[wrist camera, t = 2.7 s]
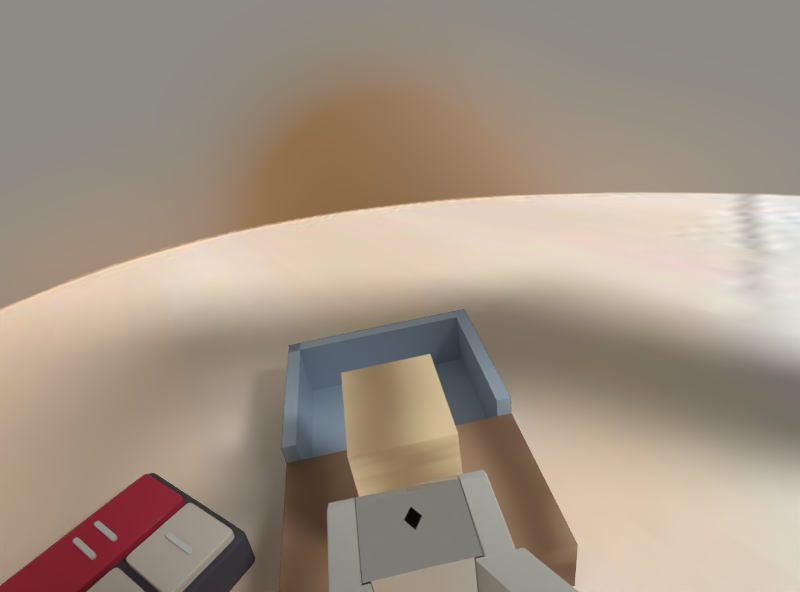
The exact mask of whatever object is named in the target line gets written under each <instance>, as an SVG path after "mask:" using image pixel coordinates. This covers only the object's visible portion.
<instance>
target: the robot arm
mask: <svg viewBox="0 0 800 592" xmlns="http://www.w3.org/2000/svg"><path fill="white" fill-rule="evenodd" d="M327 533H328V573H329V592H578V591H577V590H576V589H574V588H573V587H572V586H571V585H570V584H568V583H567V582H566V581H565V580H563V579H562V578H561V577H560V576H558V575H557V574H556V573H555V572H553V571H552V570H551V569H550V568H549V567H547V566H546V565H545V564H544V563H542V562H541V561H540V560H539V559H537V558H536V557H535V556H534V555H533V554H531V553H530V552H529V551H528V550H526V549H525V548H519V549H516V548H515V546H514V543H513V541H512V538H511V535H510V533H509V530H508V528H507V525H506V523H505V520H504V517H503V515H502V512H501V510H500V507H499V505H498V502H497V499H496V497H495V494H494V492H493V489H492V487H491V484H490V481H489V479H488V476H487V474H486V473H485V472H484V470H478V471H473V472H469V473H465V474H460V475H458V476H457V475H453V476H448V477H444V478H440V479H436V480H431V481H427V482H423V483H419V484H415V485H410V486H407V488H402V489H397V490H392V491H386V492H381V493H376V494H371V495H366V496H360V497H356V498H350V499H346V500H341V501H336V502H332V503H329V504H328V509H327Z"/></svg>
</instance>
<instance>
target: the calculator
mask: <svg viewBox="0 0 800 592" xmlns="http://www.w3.org/2000/svg"><path fill="white" fill-rule="evenodd" d="M254 561H255V557H254V554H253V552H252V549H251V547H250V544H249V542H248V539H247V537H246V535H245V533H244V532H243V531H242V530H240V529H239V528H237V527H236V526H234V525H233V524H231V523H230V522H228V521H227V520H225V519H224V518H222V517H221V516H219V515H218V514H216V513H215V512H213V511H211V510H210V509H208V508H207V507H205V506H204V505H202V504H201V503H199V502H198V501H196V500H195V499H193V498H192V497H190V496H189V495H187V494H186V493H184V492H182V491H181V490H179V489H178V488H176V487H175V486H173V485H172V484H170V483H169V482H167V481H166V480H164V479H163V478H161V477H160V476H158V475H156V474H154V473H150V474H145V475H143V476H142V477H140V478H139V479H138V480H136V481H135V482H134V483H133V484H131V485H130V486H129V487H127V488H126V489H125V490H124V491H122V492H121V493H120V494H118V495H117V496H116V497H114V498H113V499H112V500H111V501H109V502H108V503H107V504H105V505H104V506H103V507H102V508H100V509H99V510H98V511H96V512H95V513H94V514H92V515H91V516H90V517H89V518H87V519H86V520H85V521H83V522H82V523H81V524H80V525H78V526H77V527H76V528H74V529H73V530H72V531H70V532H69V533H68V534H67V535H65V536H64V537H63V538H61V539H60V540H59V541H58V542H56V543H55V544H54V545H52V546H51V547H50V548H48V549H47V550H46V551H45V552H43V553H42V554H41V555H39V556H38V557H37V558H35V559H34V560H33V561H32V562H30V563H29V564H28V565H26V566H25V567H24V568H23V569H21V570H20V571H19V572H17V573H16V574H15V575H13V576H12V577H11V578H10V579H8V580H7V581H6V582H4V583H3V584H2V585H1V586H0V592H229V591H230V590H231V589H232V588H233V587H234V586H235V584H236V583H237V582H238V581H239V580H240V579H241V577H242V576H243V575H244V574H245V573H246V571H247V570H248V569H249V568H250V567H251V566H252V564H253V563H254Z"/></svg>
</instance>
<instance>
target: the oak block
mask: <svg viewBox="0 0 800 592" xmlns="http://www.w3.org/2000/svg"><path fill="white" fill-rule="evenodd" d="M341 378H342V391H343V404H344V417H345V430H346V443H347V456H348V461H349V464H350V468H351V471H352V475H353V478H354V481H355V485H356V488H357V492H358V495H359V497H360V496H366V495H371V494H376V493H381V492H386V491H392V490H397V489H402V488H407V486H410V485H415V484H419V483H423V482H427V481H431V480H436V479H440V478H444V477H448V476H453V475H457V476H458V475H460V474H463V472H462V464H461V455H460V447H459V438H458V432H457V429H456V426H455V423H454V420H453V418H452V415H451V412H450V409H449V406H448V403H447V400H446V398H445V395H444V392H443V389H442V386H441V383H440V380H439V378H438V375H437V372H436V369H435V366H434V363H433V360H432V358H431V355H430V354H427V355H423V356H418V357H413V358H408V359H404V360H399V361H394V362H390V363H385V364H380V365H376V366H371V367H366V368H361V369H357V370H352V371H347V372H343V373H341Z"/></svg>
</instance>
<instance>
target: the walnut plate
mask: <svg viewBox="0 0 800 592" xmlns="http://www.w3.org/2000/svg"><path fill="white" fill-rule="evenodd" d="M456 429H457V432H458V438H459V447H460V455H461V464H462V472H463V474H465V473H469V472H473V471H478V470H484V472H485V473H486V474H487V476H488V479H489V481H490V484H491V487H492V489H493V492H494V494H495V497H496V499H497V502H498V505H499V507H500V510H501V512H502V515H503V517H504V520H505V523H506V525H507V528H508V530H509V533H510V535H511V538H512V541H513V543H514V546H515V548H516V549H519V548H525V549H526V550H528V551H529V552H530V553H531V554H533V555H534V556H535V557H536V558H537V559H539V560H540V561H541V562H542V563H544V564H545V565H546V566H547V567H549V568H550V569H551V570H552V571H553V572H555V573H556V574H557V575H558V576H560V577H561V578H562V579H563V580H565V581H566V582H567V583H568V584H570V585H571V586H575V572H576V559H577V545H578V544H577V542H576V541H575V539H574V537H573V535H572V533H571V531H570V529H569V527H568V525H567V523H566V521H565V519H564V517H563V515H562V513H561V511H560V509H559V507H558V505H557V503H556V501H555V499H554V497H553V495H552V493H551V491H550V489H549V487H548V485H547V483H546V481H545V479H544V477H543V475H542V473H541V471H540V469H539V467H538V465H537V463H536V461H535V459H534V457H533V455H532V453H531V451H530V449H529V447H528V445H527V443H526V441H525V439H524V437H523V435H522V433H521V432H520V430H519V428H518V426H517V424H516V422H515V420H514V418H513V416H512V414H511V413H510V414H506V415H501V416H497V417H492V418H488V419H483V420H479V421H474V422H470V423H465V424H461V425H456ZM356 497H359V495H358V492H357V488H356V485H355V481H354V478H353V475H352V471H351V468H350V464H349V461H348V456H347V450H344V451H340V452H335V453H331V454H326V455H322V456H317V457H313V458H308V459H304V460H299V461H295V462H290V463H287V471H286V487H285V503H284V519H283V535H282V551H281V567H280V583H279V592H329V573H328V533H327V509H328V504H329V503H332V502H336V501H341V500H346V499H350V498H356Z"/></svg>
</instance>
